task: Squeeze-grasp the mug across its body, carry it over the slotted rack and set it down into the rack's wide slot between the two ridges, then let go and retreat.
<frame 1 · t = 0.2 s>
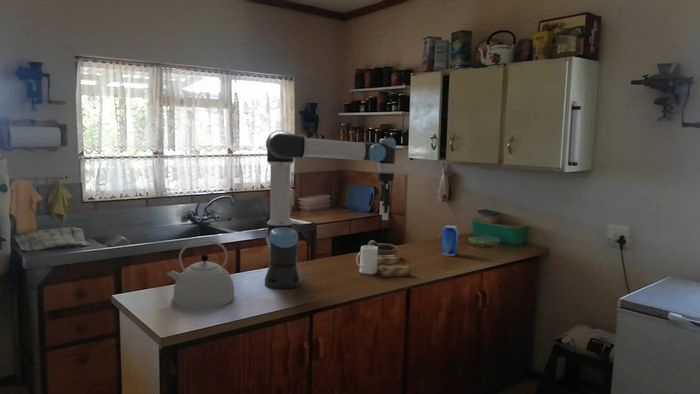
hand: (383, 217, 239), 27 cm above the worktop, fingers open, 13 cm apart
mug: (365, 272, 241), on the worktop
rack: (389, 269, 248), on the worktop
beer can: (448, 254, 284), on the worktop
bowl: (381, 258, 269), on the worktop
kettle: (201, 298, 196), on the worktop
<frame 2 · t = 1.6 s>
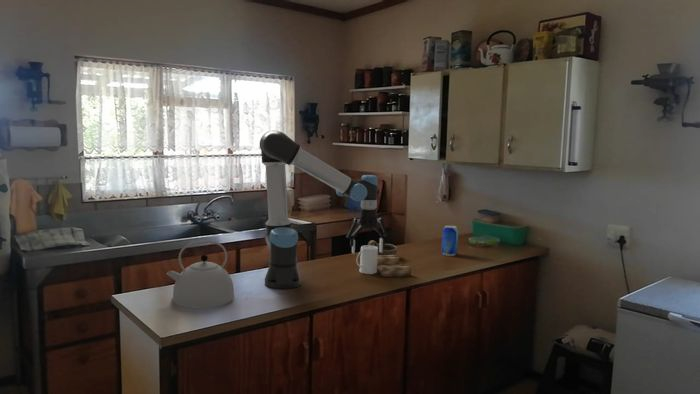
hand: (367, 252, 240), 9 cm above the worktop, fingers open, 13 cm apart
nothing on the worktop moved.
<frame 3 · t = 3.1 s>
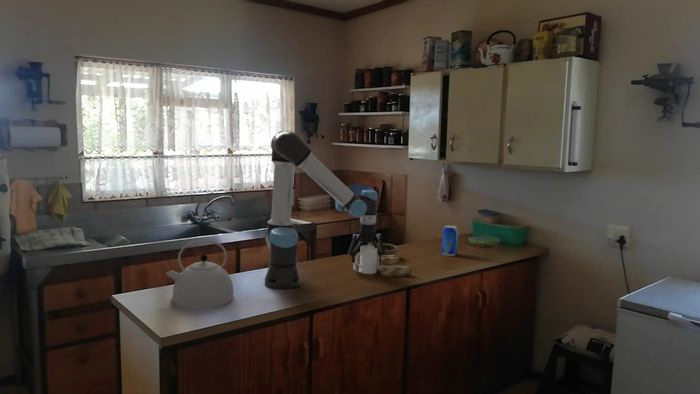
hand: (365, 268, 241), 1 cm above the worktop, fingers closed on mug, 10 cm apart
mug: (364, 272, 241), on the worktop, touching gripper
everything else where it was.
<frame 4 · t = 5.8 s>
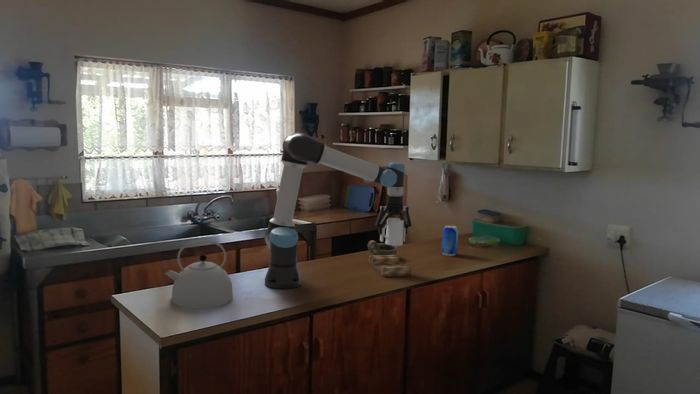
hand: (392, 241, 244), 15 cm above the worktop, fingers closed on mug, 10 cm apart
mug: (391, 244, 244), point 13 cm above the worktop, touching gripper
everything else where it was.
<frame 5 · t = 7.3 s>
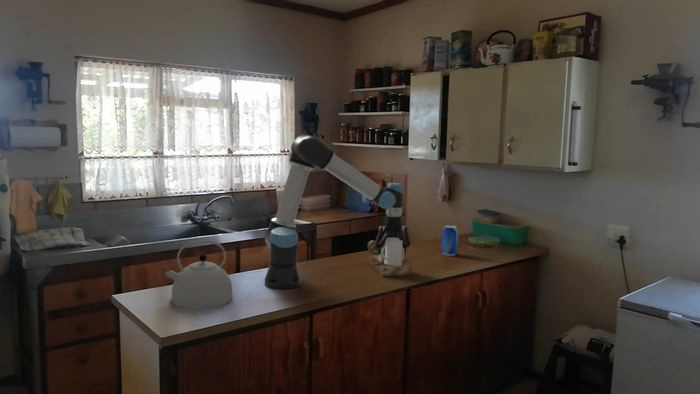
hand: (391, 260, 245), 5 cm above the worktop, fingers closed on mug, 10 cm apart
mug: (390, 264, 245), point 3 cm above the worktop, touching gripper
everything else where it was.
when the fingers open (3 cm above the worktop, at t = 8.6 s): mug stays where it is, resting on rack.
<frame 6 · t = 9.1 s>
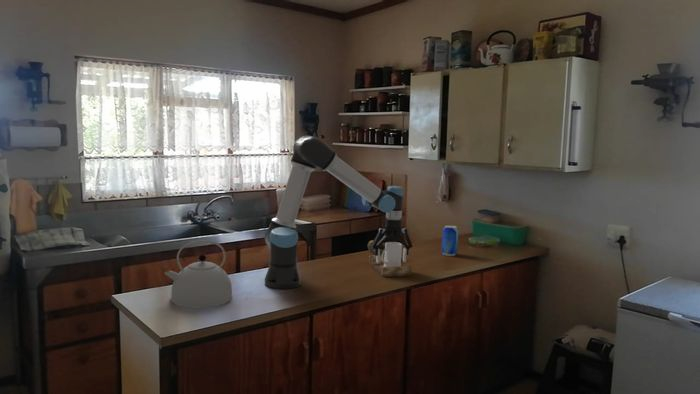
hand: (391, 262, 245), 4 cm above the worktop, fingers open, 13 cm apart
mug: (389, 268, 245), point 1 cm above the worktop, touching rack
everything else where it was.
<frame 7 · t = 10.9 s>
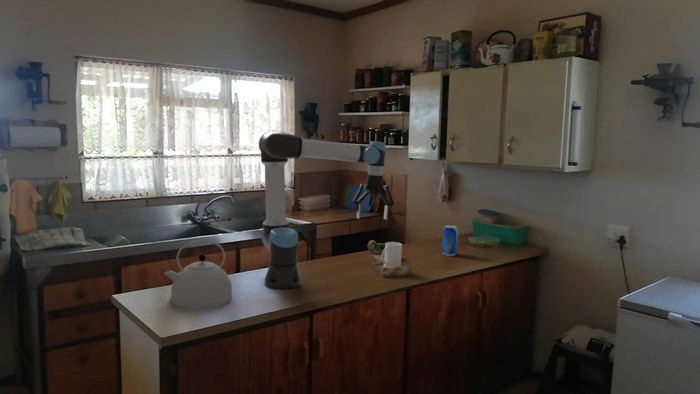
hand: (371, 218, 243), 25 cm above the worktop, fingers open, 13 cm apart
nothing on the worktop moved.
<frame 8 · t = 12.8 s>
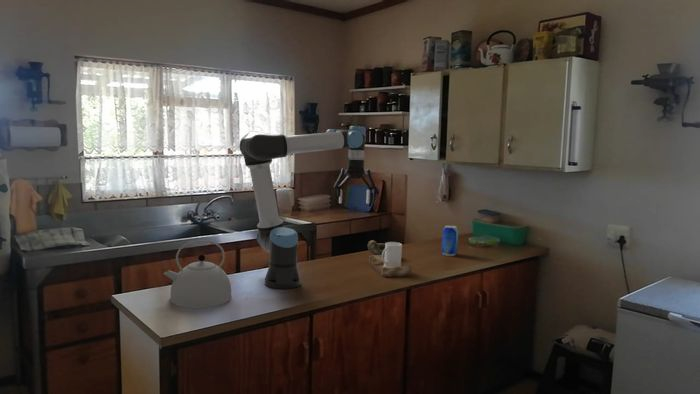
hand: (354, 203, 243), 32 cm above the worktop, fingers open, 13 cm apart
at the end: mug inside the target area on the rack (0.7 cm from its centre), point 1.0 cm above the rack's base; mug tilted 0°; the gripper is holding nothing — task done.
